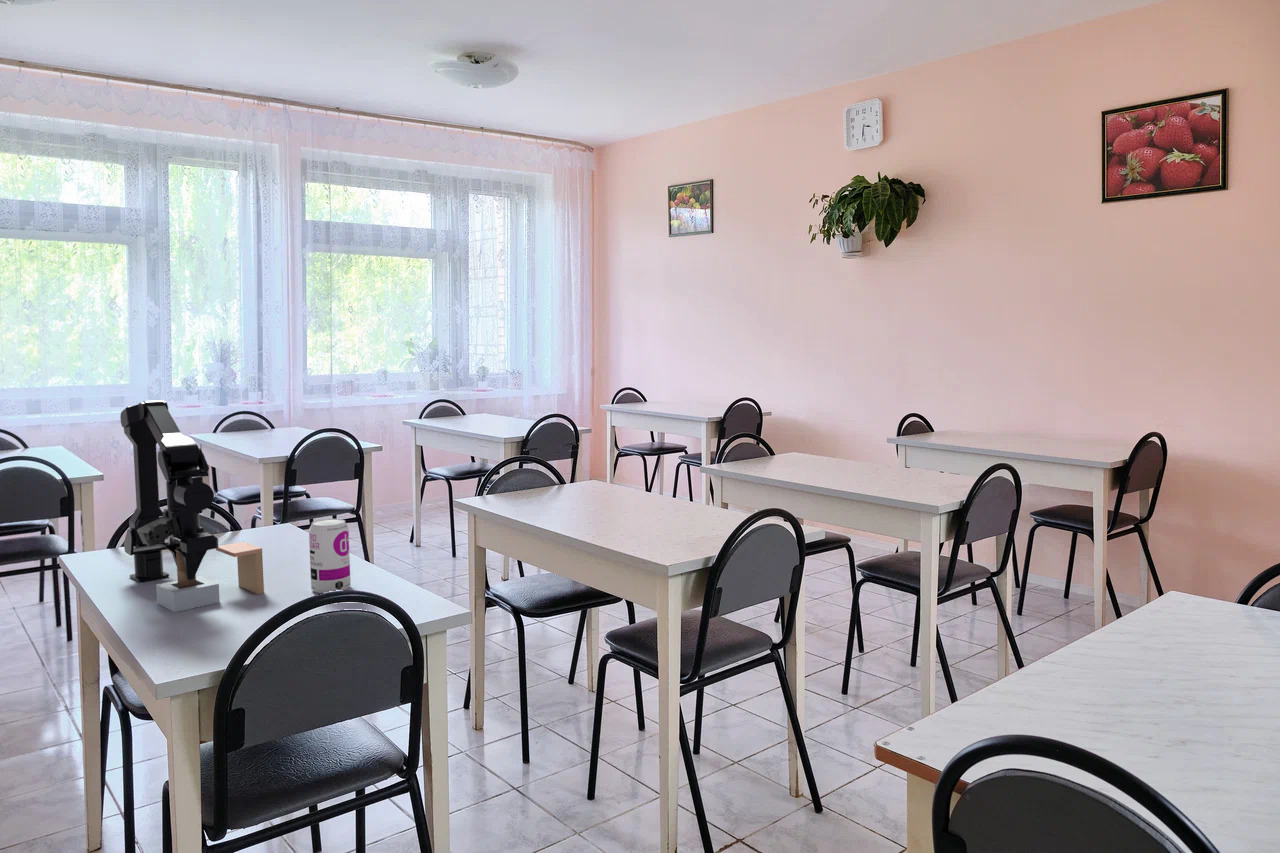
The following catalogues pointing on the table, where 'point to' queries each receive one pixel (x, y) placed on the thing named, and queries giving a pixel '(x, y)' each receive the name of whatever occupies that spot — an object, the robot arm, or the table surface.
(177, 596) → the grey and wooden blocks
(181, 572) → the peg
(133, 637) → the table surface
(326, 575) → the supplement can
